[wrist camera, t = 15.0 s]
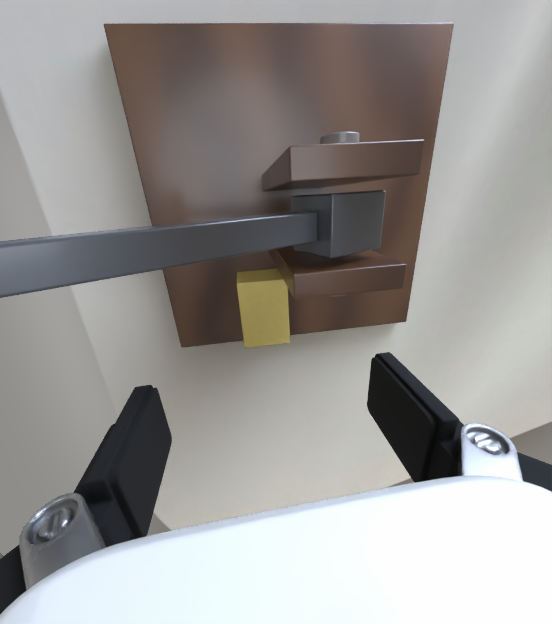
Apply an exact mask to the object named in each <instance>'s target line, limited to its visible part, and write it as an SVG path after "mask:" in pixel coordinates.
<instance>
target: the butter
mask: <svg viewBox="0 0 552 624" xmlns="http://www.w3.org/2000/svg"><path fill="white" fill-rule="evenodd" d="M237 291H238V299H239V307H240V315H241V322H242V330H243V338H244V346H245V348H251V347H259V346H267V345H276V344H284V343H290V330H289V307H288V287H287V285H286V283H285V281H284V279H283V278H282V276H281V274H280V272H279V270H278V269H267V270H256V271H245V272H237Z"/></svg>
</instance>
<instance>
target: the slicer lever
mask: <svg viewBox="0 0 552 624" xmlns="http://www.w3.org/2000/svg"><path fill="white" fill-rule="evenodd" d="M385 195H386V191H385V190H376V191H360V192H345V193H329V194H314V195H299V196H293V197H292V212H286V213H276V214H266V215H256V216H246V217H236V218H227V219H217V220H207V221H197V222H187V223H177V224H167V225H157V226H147V227H138V228H128V229H118V230H108V231H98V232H88V233H78V234H68V235H58V236H49V237H39V238H29V239H19V240H10V241H0V298H2V297H8V296H14V295H19V294H25V293H30V292H36V291H42V290H47V289H53V288H59V287H64V286H70V285H76V284H81V283H87V282H93V281H98V280H104V279H110V278H115V277H121V276H127V275H132V274H138V273H144V272H149V271H155V270H161V269H166V268H172V267H177V266H183V265H189V264H194V263H200V262H206V261H211V260H217V259H223V258H228V257H234V256H240V255H245V254H251V253H257V252H262V251H268V250H273V249H279V248H285V247H290V246H293V249H294V251H298V252H303V253H308V254H312V255H317V256H321V257H326V258H330V259H332V258H336V257H341V256H345V255H349V254H354V253H358V252H363V251H367V250H372V249H376V248H379V247H380V244H381V234H382V224H383V215H384V205H385Z"/></svg>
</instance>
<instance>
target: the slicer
mask: <svg viewBox="0 0 552 624" xmlns="http://www.w3.org/2000/svg"><path fill="white" fill-rule="evenodd" d="M453 25H454V23H204V24H104V28H105V32H106V36H107V40H108V45H109V49H110V53H111V57H112V61H113V65H114V69H115V74H116V78H117V82H118V86H119V90H120V94H121V98H122V103H123V107H124V111H125V115H126V119H127V123H128V128H129V132H130V136H131V140H132V144H133V148H134V152H135V157H136V161H137V165H138V169H139V173H140V177H141V181H142V186H143V190H144V194H145V198H146V202H147V206H148V210H149V215H150V219H151V223H152V226H157V225H167V224H177V223H187V222H197V221H207V220H217V219H227V218H236V217H246V216H256V215H266V214H276V213H286V212H292V197H293V196H299V195H314V194H329V193H345V192H360V191H376V190H385V191H386V195H385V205H384V215H383V224H382V234H381V244H380V247H379V248H376V249H372V250H367V251H363V252H358V253H354V254H349V255H345V256H341V257H336V258H332V259H330V258H326V257H321V256H317V255H312V254H308V253H303V252H298V251H294V249H293V246H290V247H285V248H279V249H273V250H268V251H262V252H257V253H251V254H245V255H240V256H234V257H228V258H223V259H217V260H211V261H206V262H200V263H194V264H189V265H183V266H177V267H172V268H166V269H163V273H164V277H165V281H166V285H167V289H168V293H169V297H170V302H171V306H172V310H173V314H174V318H175V322H176V326H177V331H178V335H179V339H180V343H181V347H190V346H199V345H208V344H217V343H225V342H234V341H243V340H244V338H243V330H242V322H241V315H240V307H239V299H238V291H237V272H245V271H256V270H267V269H278V270H279V272H280V274H281V276H282V278H283V279H284V281H285V283H286V285H287V287H288V307H289V330H290V335H295V334H303V333H312V332H321V331H329V330H338V329H347V328H355V327H364V326H373V325H381V324H390V323H399V322H406V318H407V312H408V306H409V300H410V293H411V287H412V281H413V275H414V268H415V262H416V256H417V250H418V244H419V237H420V231H421V225H422V219H423V212H424V206H425V200H426V194H427V187H428V181H429V175H430V169H431V162H432V156H433V150H434V144H435V137H436V131H437V125H438V119H439V112H440V106H441V100H442V94H443V88H444V81H445V75H446V69H447V63H448V56H449V50H450V44H451V38H452V31H453Z"/></svg>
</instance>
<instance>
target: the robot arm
mask: <svg viewBox="0 0 552 624" xmlns="http://www.w3.org/2000/svg"><path fill="white" fill-rule="evenodd" d="M367 407H368V410H369V412H370V414H371V416H372V417H373V419H374V420H375V422H376V423H377V425H378V426H379V428H380V430H381V431H382V433H383V434H384V436H385V437H386V439H387V440H388V442H389V444H390V445H391V447H392V448H393V450H394V451H395V453H396V455H397V456H398V458H399V459H400V461H401V462H402V464H403V465H404V467H405V469H406V470H407V472H408V473H409V475H410V476H411V478H412V479H413V481H414V482H415V483H411V484H405V485H399V486H394V487H389V488H383V489H378V490H373V491H368V492H362V493H357V494H352V495H347V496H341V497H336V498H331V499H326V500H321V501H316V502H311V503H306V504H301V505H295V506H290V507H285V508H280V509H275V510H270V511H265V512H260V513H255V514H250V515H245V516H240V517H235V518H230V519H225V520H221V521H216V522H211V523H206V524H201V525H196V526H191V527H186V528H182V529H177V530H173V531H169V532H164V533H160V534H155V535H150V536H146V535H147V533H148V530H149V526H150V522H151V518H152V515H153V511H154V507H155V503H156V500H157V496H158V492H159V488H160V485H161V481H162V477H163V473H164V470H165V466H166V462H167V458H168V454H169V451H170V447H171V442H172V437H171V433H170V429H169V426H168V423H167V419H166V416H165V413H164V409H163V406H162V403H161V399H160V396H159V393H158V390H157V388H153V387H152V386H151V385H146V386H139V387H135V388H134V390H133V392H132V394H131V395H130V397H129V399H128V401H127V403H126V405H125V406H124V408H123V410H122V412H121V414H120V416H119V417H118V419H117V421H116V423H115V424H113V425H112V426H111V427H110V428H109V430H108V432H107V434H106V435H105V437H104V439H103V441H102V443H101V444H100V446H99V448H98V450H97V452H96V453H95V455H94V457H93V459H92V460H91V462H90V464H89V466H88V468H87V469H86V471H85V473H84V475H83V477H82V479H81V480H80V482H79V484H78V486H77V487H76V489H75V491H74V493H68V494H65V495H62V496H59V497H57V498H55V499H53V500H51V501H50V502H48V503H47V504H45V505H44V506H43V507H41V508H40V509H39V510H38V511H37V512H36V513H35V514H34V515H33V516H32V517H31V518H30V519H29V521H28V522H27V523H26V525H25V526H24V528H23V530H22V532H21V535H20V539H19V545H18V546H17V547H16V548H14V549H13V550H11V551H10V552H9V553H8V554H6V555H5V556H4V557H2V558H1V559H0V624H552V465H550V464H547V463H545V462H542V461H539V460H537V459H534V458H531V457H529V456H526V455H523V454H521V453H518V452H516V448H515V446H514V444H513V443H512V442H511V441H510V439H509V438H508V437H506V436H505V435H504V434H503V433H501V432H500V431H498V430H496V429H494V428H492V427H489V426H487V425H483V424H479V423H469V424H466V425H463V424H462V423H461V422H460V421H459V419H458V418H457V417H456V416H455V415H454V414H453V413H452V412H451V411H450V410H449V409H448V408H447V407H446V406H445V405H444V404H443V403H442V402H441V401H440V400H439V399H438V398H437V397H436V396H435V395H434V394H433V393H432V392H430V391H429V390H428V389H427V388H426V387H425V386H424V385H423V384H422V383H421V382H420V381H419V380H418V379H417V378H416V377H415V376H414V375H413V374H412V373H411V372H410V371H409V370H408V369H407V368H406V367H405V366H404V365H403V364H401V363H400V362H399V361H398V360H397V359H396V358H395V357H394V356H393V355H392V354H391V353H389V352H387V353H380V354H376V355H375V357H374V358H372V361H371V371H370V381H369V391H368V401H367Z"/></svg>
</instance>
